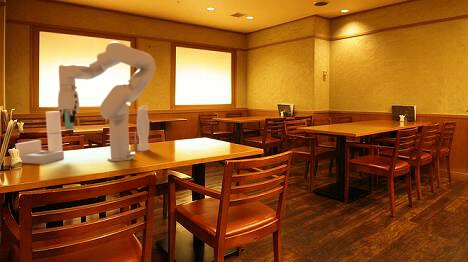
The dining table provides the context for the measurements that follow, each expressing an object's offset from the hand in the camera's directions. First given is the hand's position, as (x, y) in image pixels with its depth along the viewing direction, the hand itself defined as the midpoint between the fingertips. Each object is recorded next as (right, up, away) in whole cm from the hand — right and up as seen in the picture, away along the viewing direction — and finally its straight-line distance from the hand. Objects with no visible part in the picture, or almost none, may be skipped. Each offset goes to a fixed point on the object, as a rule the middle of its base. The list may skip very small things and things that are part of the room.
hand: (68, 122), depth 172 cm
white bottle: (+33, -17, +25) cm, 45 cm away
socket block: (-11, -20, -5) cm, 24 cm away
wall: (-19, -21, -3) cm, 28 cm away
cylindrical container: (-15, -19, +14) cm, 28 cm away
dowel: (0, -4, 0) cm, 4 cm away
